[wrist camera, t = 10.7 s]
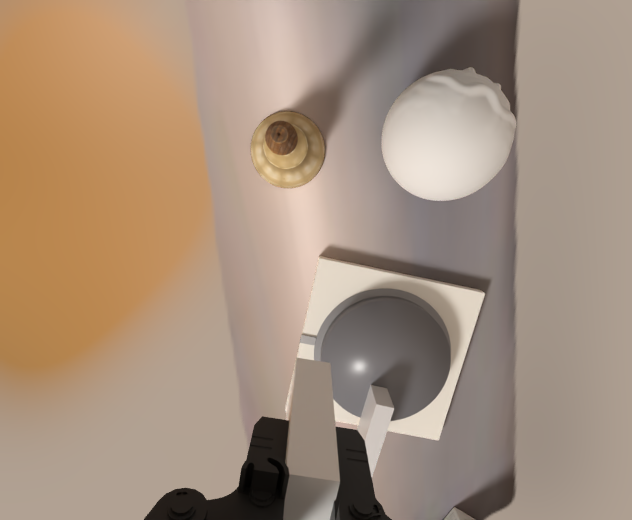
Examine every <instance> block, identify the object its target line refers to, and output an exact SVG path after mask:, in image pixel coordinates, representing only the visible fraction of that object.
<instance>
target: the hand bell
mask: <svg viewBox="0 0 632 520" xmlns="http://www.w3.org/2000/svg"><path fill="white" fill-rule="evenodd" d="M324 156H325V144H324V140H323V137H322V134H321V132H320V130H319V129H318V127H317V126H316V125H315V124H314V122H312V121H311V120H310V119H309V118H307V117H306V116H304V115H302V114H299V113H296V112H291V111H284V112H278V113H275V114H273V115H271V116H269V117H267V118H266V119H265V120H263V121H262V122H261V123H260V124H259V126H258V127H257V129H256V130H255V132H254V135H253V137H252V142H251V157H252V161H253V164H254V166H255V168H256V170H257V171H258V173H259V174H260V175H261V176H262V177H263V178H264V179H265V180H266V181H267V182H269V183H270V184H272V185H275V186H278V187H281V188H296V187H299V186H302V185H304V184H306V183H308V182H309V181H311V180H312V179H313V178H314V177H315V176H316V175H317V173H318V172H319V170H320V169H321V166H322V164H323V161H324Z"/></svg>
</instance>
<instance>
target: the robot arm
mask: <svg viewBox="0 0 632 520" xmlns="http://www.w3.org/2000/svg"><path fill="white" fill-rule="evenodd" d="M144 520H392V519H390V518H389V517H388V516H387V515H385V512H384V510H383V507H382V505H381V504H380V503H379V502H378V501H377V500H376V498H375V494H374V488H373V483H372V477H371V472H370V467H369V463H368V456H367V450H366V445H365V440H364V439H363V438H362V436H361V435H360V433H359V432H358V430H353V429H347V428H340V427H336V426H335V414H334V402H333V390H332V378H331V366H330V363H327V362H321V361H315V360H309V359H303V358H296V364H295V369H294V375H293V380H292V386H291V391H290V397H289V402H288V407H287V414H286V420H282V419H275V418H268V417H261V419H260V420H259V421H258V422H257V423H256V424H255V425H254V430H253V434H252V438H251V442H250V447H249V451H248V455H247V460H246V461H245V463H244V464H243V466H242V469H241V475H240V481H239V487H238V488H237V489H236V490H235V491H234V492H232V493H231V494H229V495H227V496H225V497H222V498H219V499H213V500H206V498H205V497H204V495H203V494H202V493H200V492H198V491H197V490H195V489H189V488H181V489H175V490H173V491H171V492H169V493H166V494H165V495H164V496H163V497H162V498H161V499H160V500H159V501H158V502H157V503H156V505H155V506H154V507H153V508H152V510H151V511H150V512H149V514H148V515H147V516H146V517H145V519H144Z"/></svg>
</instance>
